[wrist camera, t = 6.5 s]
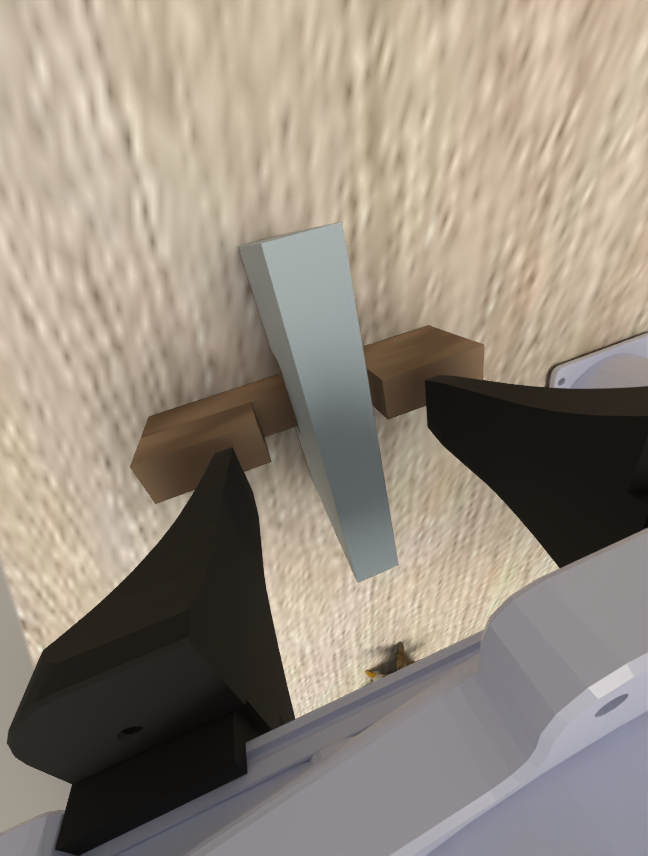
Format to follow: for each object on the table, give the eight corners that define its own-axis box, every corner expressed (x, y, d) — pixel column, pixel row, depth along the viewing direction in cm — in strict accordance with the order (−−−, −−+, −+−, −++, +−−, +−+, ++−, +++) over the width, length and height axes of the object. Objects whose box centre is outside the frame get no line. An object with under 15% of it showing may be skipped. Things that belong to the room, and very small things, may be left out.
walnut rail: (428, 325, 17) (484, 344, 13) (430, 358, 18) (482, 384, 14) (148, 416, 15) (129, 466, 11) (167, 448, 16) (155, 504, 12)
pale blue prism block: (341, 468, 19) (398, 565, 13) (311, 478, 19) (357, 582, 13) (282, 234, 13) (341, 221, 7) (237, 246, 13) (260, 243, 7)
